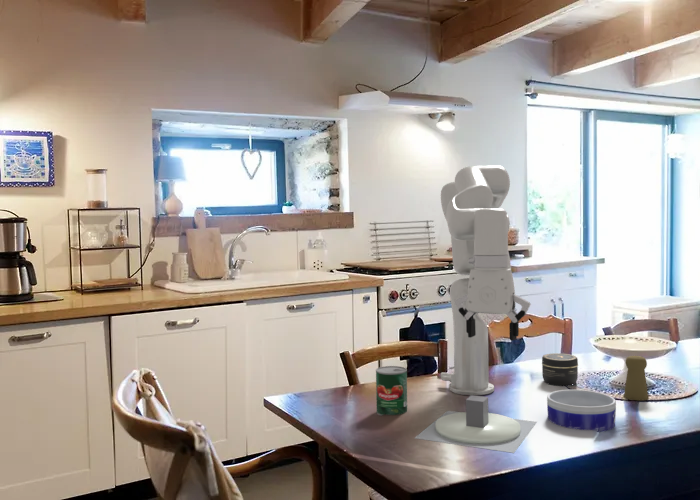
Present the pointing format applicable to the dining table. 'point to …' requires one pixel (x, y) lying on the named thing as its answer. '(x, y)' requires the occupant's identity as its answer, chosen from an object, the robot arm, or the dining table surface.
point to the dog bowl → (582, 410)
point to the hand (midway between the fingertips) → (492, 338)
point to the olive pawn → (636, 378)
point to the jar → (560, 369)
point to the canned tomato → (391, 390)
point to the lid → (477, 424)
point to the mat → (504, 446)
